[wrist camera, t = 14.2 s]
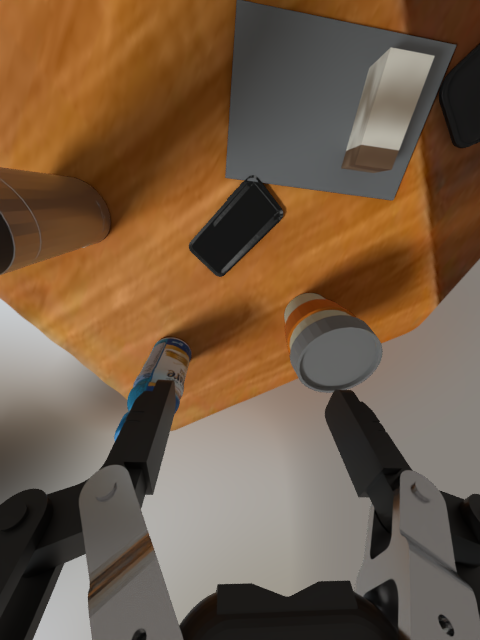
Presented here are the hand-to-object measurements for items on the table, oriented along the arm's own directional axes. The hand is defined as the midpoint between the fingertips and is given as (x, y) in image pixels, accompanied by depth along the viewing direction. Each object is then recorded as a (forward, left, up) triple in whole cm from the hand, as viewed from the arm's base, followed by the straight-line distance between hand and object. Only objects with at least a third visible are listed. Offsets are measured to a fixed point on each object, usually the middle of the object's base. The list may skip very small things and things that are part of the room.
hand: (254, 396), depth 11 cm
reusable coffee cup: (+15, -10, -30) cm, 35 cm away
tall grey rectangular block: (+16, +19, -30) cm, 39 cm away
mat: (+10, +19, -30) cm, 37 cm away
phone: (-1, +4, -31) cm, 31 cm away
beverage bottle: (-12, -22, -30) cm, 39 cm away
